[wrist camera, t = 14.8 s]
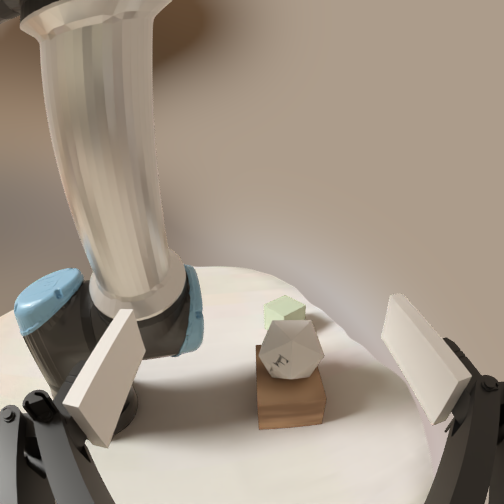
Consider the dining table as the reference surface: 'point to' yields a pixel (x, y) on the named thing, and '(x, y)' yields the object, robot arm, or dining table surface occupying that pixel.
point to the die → (291, 349)
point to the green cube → (283, 310)
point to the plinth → (288, 399)
